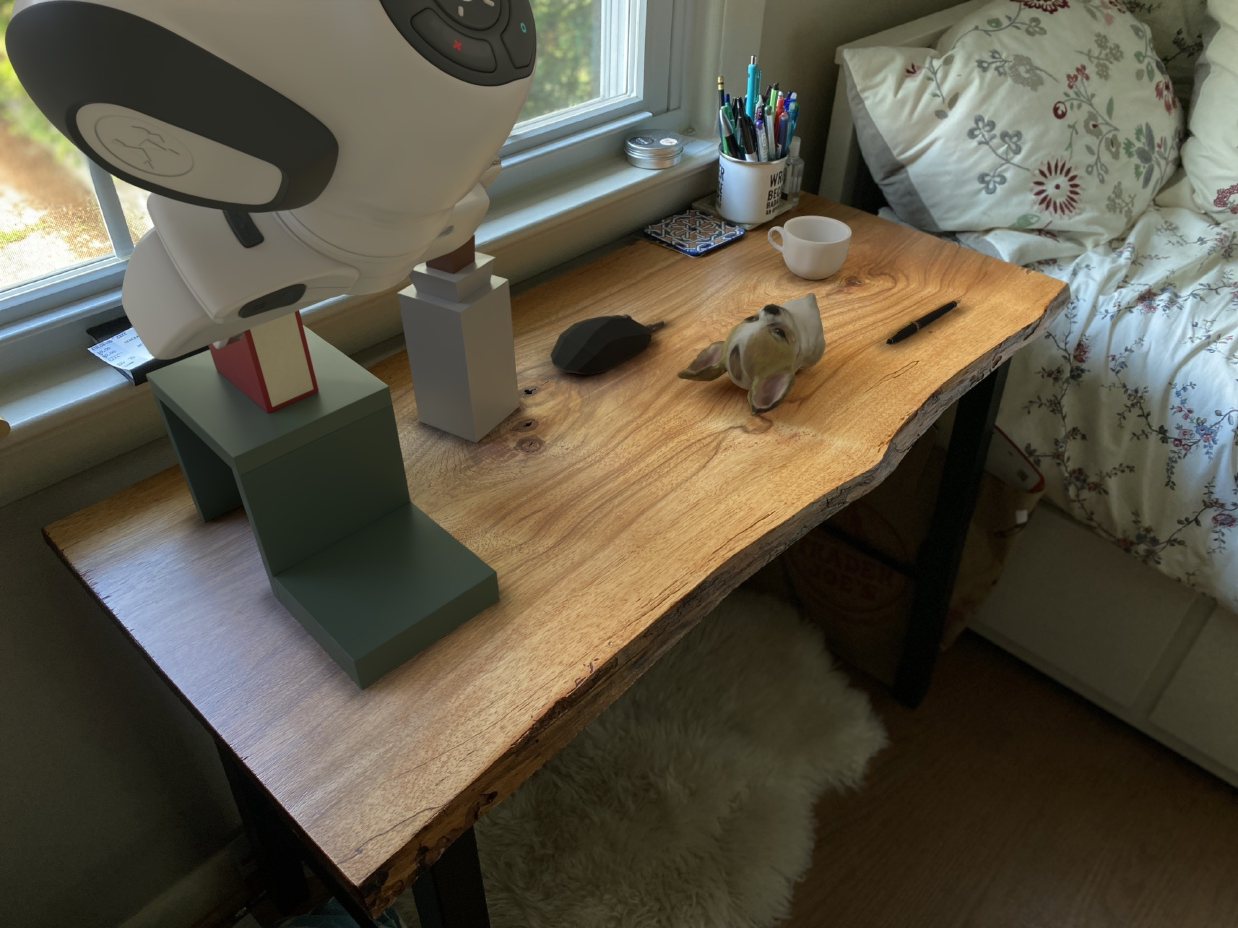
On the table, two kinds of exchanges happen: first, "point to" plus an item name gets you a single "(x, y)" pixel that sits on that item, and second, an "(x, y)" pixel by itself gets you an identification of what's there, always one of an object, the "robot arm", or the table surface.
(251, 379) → the book
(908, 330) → the fountain pen
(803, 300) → the ceramic sculpture
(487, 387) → the perfume bottle
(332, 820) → the table surface
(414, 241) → the robot arm
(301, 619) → the shelf
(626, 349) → the gaming mouse
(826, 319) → the table surface
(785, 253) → the teacup
